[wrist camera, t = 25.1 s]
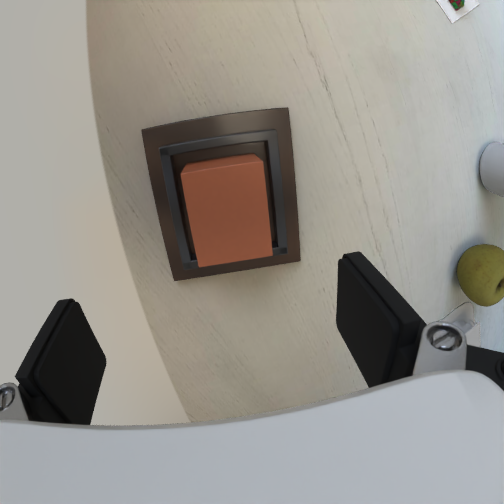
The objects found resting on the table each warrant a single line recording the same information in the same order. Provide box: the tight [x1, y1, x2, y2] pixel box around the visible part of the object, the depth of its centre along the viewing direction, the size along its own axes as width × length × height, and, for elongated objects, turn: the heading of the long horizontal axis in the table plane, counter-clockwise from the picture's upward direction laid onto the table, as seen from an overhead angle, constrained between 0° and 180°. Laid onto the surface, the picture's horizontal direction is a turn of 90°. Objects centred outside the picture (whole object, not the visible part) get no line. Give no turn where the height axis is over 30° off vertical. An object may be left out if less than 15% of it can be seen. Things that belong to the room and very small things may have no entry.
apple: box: [457, 244, 504, 306], centre depth 30 cm, size 8×8×7 cm
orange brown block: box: [181, 153, 273, 267], centre depth 23 cm, size 7×6×5 cm
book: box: [441, 303, 481, 348], centre depth 40 cm, size 15×23×4 cm, turn 33°
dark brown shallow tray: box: [142, 108, 301, 281], centre depth 25 cm, size 14×12×2 cm
